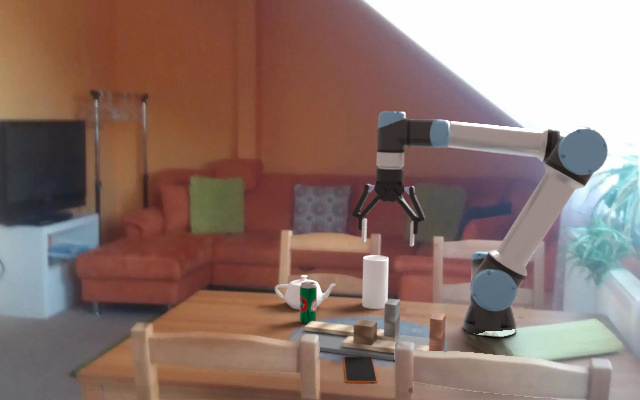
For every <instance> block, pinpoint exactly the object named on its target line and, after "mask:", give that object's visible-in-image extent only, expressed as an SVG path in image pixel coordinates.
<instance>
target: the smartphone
mask: <svg viewBox="0 0 640 400" xmlns="http://www.w3.org/2000/svg"><path fill="white" fill-rule="evenodd" d="M343 367H344V368H343V369H344V371H343V373H344V381H345V383H347V384H372V382H373V384H377V383H378V378H377V374H376V369H375V364H374V358H372V357H363V356H344V357H343Z"/></svg>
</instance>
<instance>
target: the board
mask: <svg viewBox="0 0 640 400" xmlns="http://www.w3.org/2000/svg"><path fill="white" fill-rule="evenodd" d="M304 334H317V335H319V336H320V352H329V353H335V354H342V355H348V354H349V355H350V356H355V357H372V359H379V360H388V361H393V360H394V353H387V352H380V351H372V350H365V349H357V348H349V347H342V342H343V341H344V340H345V339H346V338H347V337H348V336H345V335H337V334H329V333H321V332H313V331H305V326H304V327H303V328H302V329H300V330H299V331H297V333H295V334H294V335H293V336H292V337H290V338H289V339H288V340H289V341H298V340H299V339H300V337H301V336H302V335H304ZM399 340H402V341H410V342H413V343H414V344H418V345H426V346H429V337H421V336H413V335H407V334H399V337H398V338H397V339H396V341H395V342H397V341H399Z"/></svg>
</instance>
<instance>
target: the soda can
mask: <svg viewBox="0 0 640 400" xmlns="http://www.w3.org/2000/svg"><path fill="white" fill-rule="evenodd" d="M315 284H316V283H315V282H310V281H306V282H302V283H301V286H300V310H299V321H300V323H301V324H304V325H307V324H308V323H310V322H311V321H317V308H318V307H317V286H316V285H315Z"/></svg>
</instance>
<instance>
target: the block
mask: <svg viewBox="0 0 640 400" xmlns="http://www.w3.org/2000/svg"><path fill="white" fill-rule="evenodd" d="M353 326H354V336H353V343H356V344H363V345H371V346H372V345H373V344H374V342H375V341H376V340H377V329H378V321H375V320H369V319H367V320H365V319H358V320H357V321H356V322H355V323H354V324H353Z"/></svg>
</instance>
